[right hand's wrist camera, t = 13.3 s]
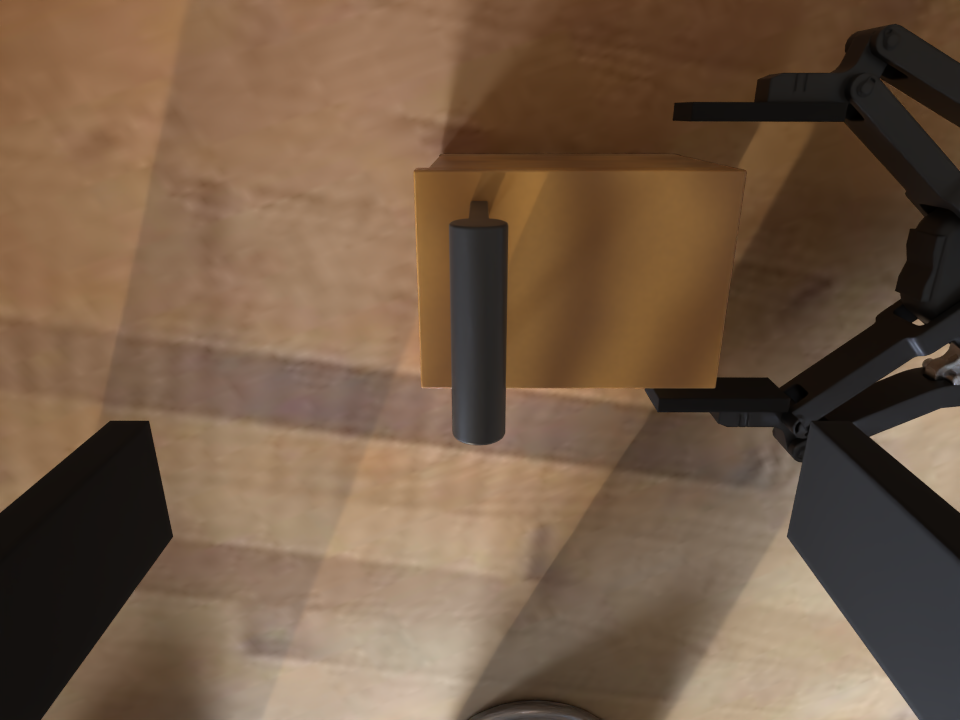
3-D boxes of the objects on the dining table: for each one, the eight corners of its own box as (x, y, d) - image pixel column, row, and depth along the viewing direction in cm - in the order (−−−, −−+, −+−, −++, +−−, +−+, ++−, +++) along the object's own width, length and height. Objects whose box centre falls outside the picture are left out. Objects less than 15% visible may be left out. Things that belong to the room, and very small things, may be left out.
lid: (423, 379, 30) (403, 472, 22) (415, 167, 26) (388, 191, 19) (707, 379, 30) (787, 473, 22) (737, 168, 26) (843, 191, 19)
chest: (444, 319, 38) (433, 379, 30) (440, 153, 35) (427, 167, 27) (657, 319, 38) (707, 379, 30) (674, 153, 35) (737, 167, 26)
